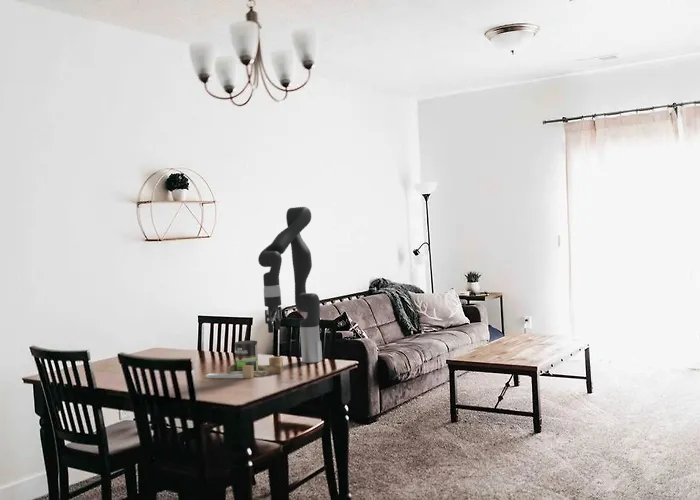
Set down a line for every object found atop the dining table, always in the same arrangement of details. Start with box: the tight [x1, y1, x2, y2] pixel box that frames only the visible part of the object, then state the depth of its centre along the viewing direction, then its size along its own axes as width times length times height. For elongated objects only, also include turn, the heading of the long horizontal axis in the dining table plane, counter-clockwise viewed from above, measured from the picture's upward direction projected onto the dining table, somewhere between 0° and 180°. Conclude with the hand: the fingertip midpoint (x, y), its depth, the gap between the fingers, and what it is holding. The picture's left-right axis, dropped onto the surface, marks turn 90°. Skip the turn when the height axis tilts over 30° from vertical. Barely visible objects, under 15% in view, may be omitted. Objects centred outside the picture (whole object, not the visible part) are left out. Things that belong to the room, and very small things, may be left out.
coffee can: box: [234, 339, 259, 371], centre depth 305 cm, size 10×10×14 cm
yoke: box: [226, 356, 284, 377], centre depth 303 cm, size 23×15×7 cm, turn 75°
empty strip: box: [205, 365, 255, 379], centre depth 296 cm, size 22×4×5 cm, turn 75°
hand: (274, 331), depth 301 cm, fingers open, 8 cm apart
